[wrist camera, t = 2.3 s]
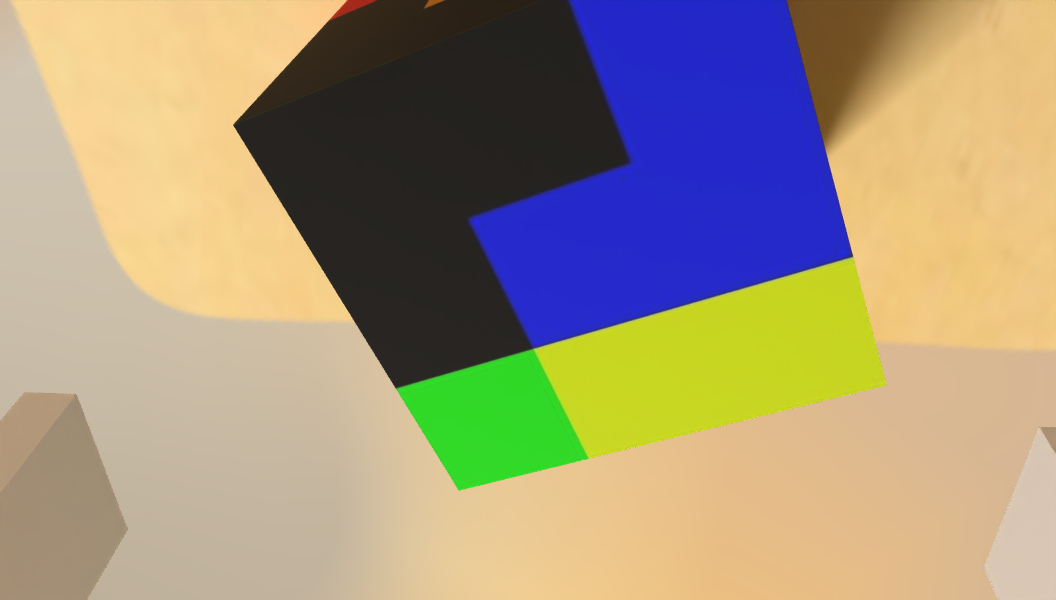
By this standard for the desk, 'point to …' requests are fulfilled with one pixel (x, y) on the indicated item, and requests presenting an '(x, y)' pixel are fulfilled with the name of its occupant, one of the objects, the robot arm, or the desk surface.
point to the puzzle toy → (571, 218)
